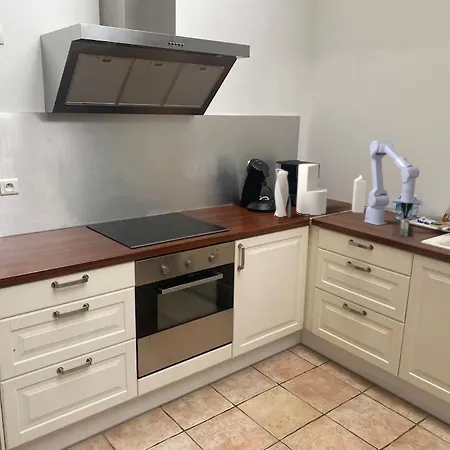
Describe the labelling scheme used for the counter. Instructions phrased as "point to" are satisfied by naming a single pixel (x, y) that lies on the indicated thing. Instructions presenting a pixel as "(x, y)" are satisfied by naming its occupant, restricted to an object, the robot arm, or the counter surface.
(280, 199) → the skyscraper
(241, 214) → the counter surface
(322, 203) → the white stepped block
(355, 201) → the milk
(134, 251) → the counter surface
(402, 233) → the bar
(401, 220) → the arm
